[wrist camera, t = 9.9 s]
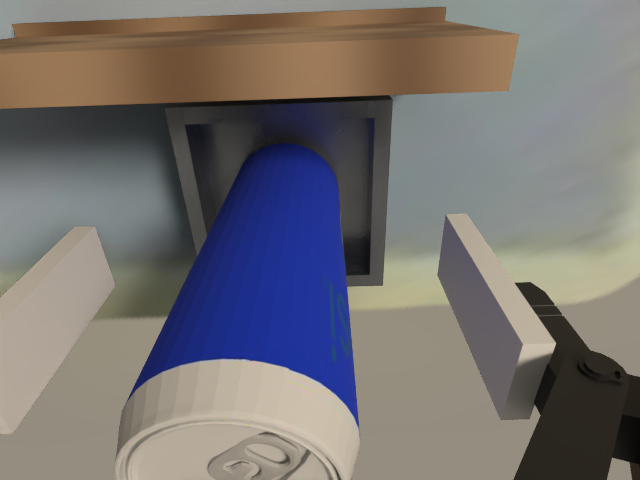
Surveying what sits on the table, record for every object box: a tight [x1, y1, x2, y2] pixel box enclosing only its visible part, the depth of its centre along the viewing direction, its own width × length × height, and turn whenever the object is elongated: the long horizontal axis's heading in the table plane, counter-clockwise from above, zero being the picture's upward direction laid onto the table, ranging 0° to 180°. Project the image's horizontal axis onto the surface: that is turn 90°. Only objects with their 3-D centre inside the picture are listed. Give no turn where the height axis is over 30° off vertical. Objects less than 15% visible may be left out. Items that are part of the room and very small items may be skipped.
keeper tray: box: [164, 95, 393, 286], centre depth 20 cm, size 9×9×2 cm
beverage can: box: [114, 143, 360, 480], centre depth 15 cm, size 5×5×15 cm
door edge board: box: [0, 7, 519, 109], centre depth 15 cm, size 18×2×8 cm, turn 92°
